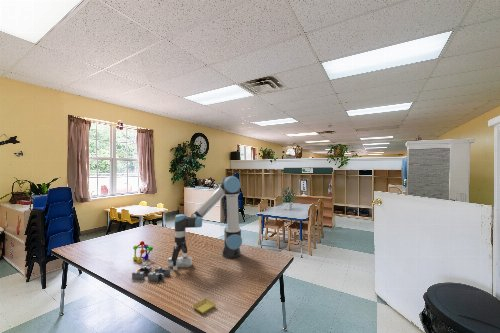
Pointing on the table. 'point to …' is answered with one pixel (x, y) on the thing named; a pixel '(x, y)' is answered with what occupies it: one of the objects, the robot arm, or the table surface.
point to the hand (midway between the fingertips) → (179, 265)
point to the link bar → (181, 262)
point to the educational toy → (142, 252)
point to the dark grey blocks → (150, 273)
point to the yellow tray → (204, 305)
